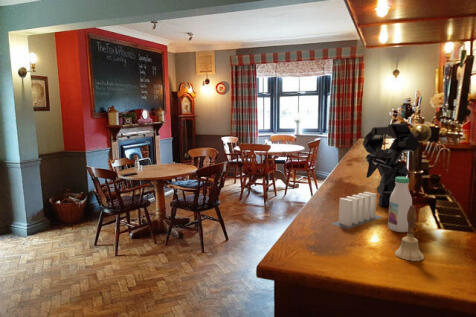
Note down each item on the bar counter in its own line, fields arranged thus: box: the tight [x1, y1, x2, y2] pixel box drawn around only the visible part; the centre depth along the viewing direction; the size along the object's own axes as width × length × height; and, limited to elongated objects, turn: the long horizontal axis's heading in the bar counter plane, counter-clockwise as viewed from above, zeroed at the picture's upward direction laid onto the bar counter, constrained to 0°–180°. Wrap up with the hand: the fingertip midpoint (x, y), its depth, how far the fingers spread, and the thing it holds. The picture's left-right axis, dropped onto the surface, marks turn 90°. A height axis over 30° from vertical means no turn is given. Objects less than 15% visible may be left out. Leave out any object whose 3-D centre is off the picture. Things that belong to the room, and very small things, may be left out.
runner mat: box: [330, 214, 383, 230], centre depth 142 cm, size 24×8×1 cm, turn 127°
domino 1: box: [338, 197, 353, 226], centre depth 137 cm, size 2×5×10 cm, turn 37°
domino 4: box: [357, 192, 371, 220], centre depth 144 cm, size 2×5×10 cm, turn 37°
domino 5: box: [363, 191, 378, 218], centre depth 146 cm, size 2×5×10 cm, turn 37°
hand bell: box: [394, 204, 425, 262], centre depth 108 cm, size 8×8×16 cm
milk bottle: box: [387, 176, 413, 233], centre depth 131 cm, size 8×8×20 cm
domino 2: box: [345, 195, 359, 224], centre depth 139 cm, size 2×5×10 cm, turn 37°
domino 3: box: [351, 194, 365, 222], centre depth 142 cm, size 2×5×10 cm, turn 37°
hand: (375, 180), depth 150 cm, fingers open, 9 cm apart
